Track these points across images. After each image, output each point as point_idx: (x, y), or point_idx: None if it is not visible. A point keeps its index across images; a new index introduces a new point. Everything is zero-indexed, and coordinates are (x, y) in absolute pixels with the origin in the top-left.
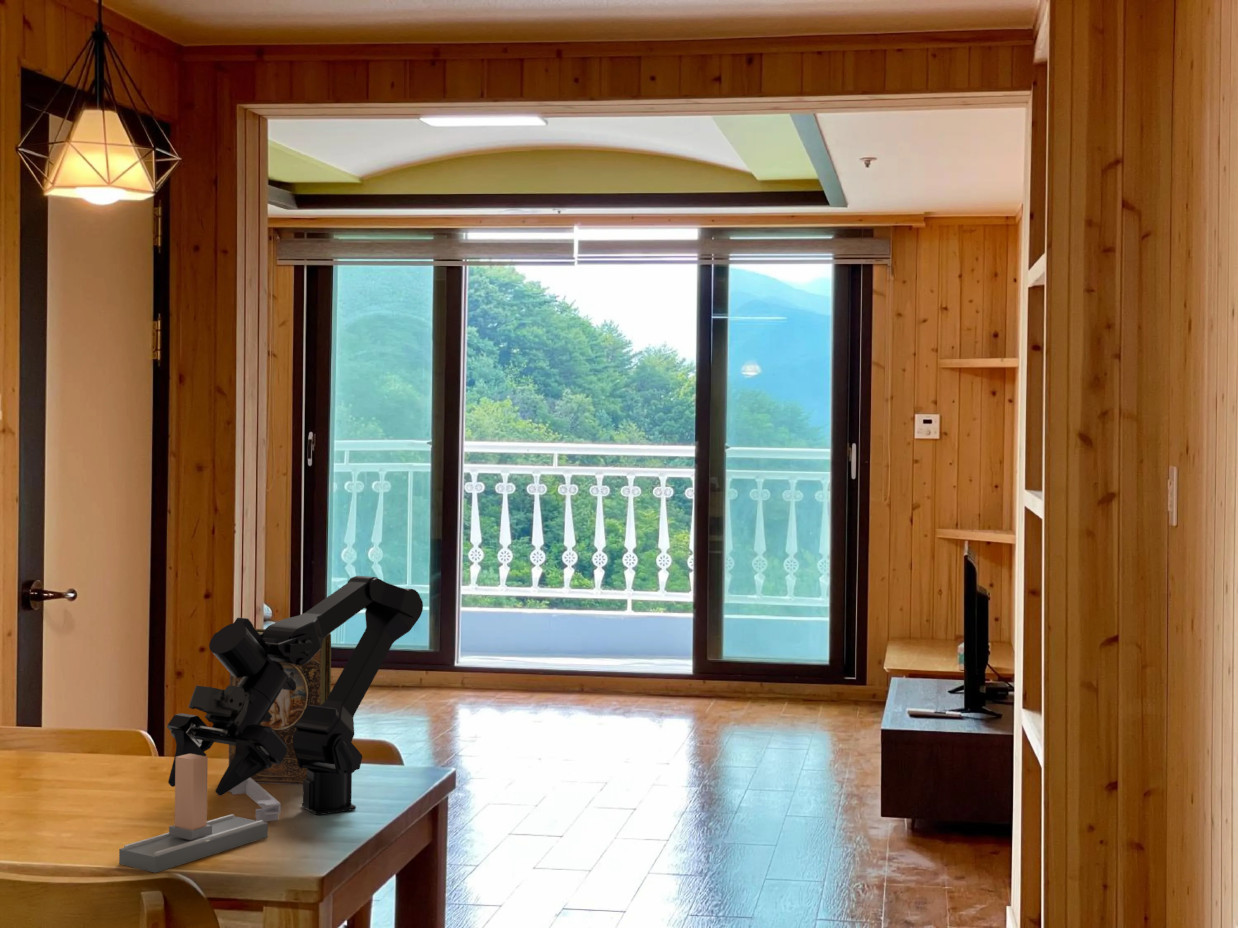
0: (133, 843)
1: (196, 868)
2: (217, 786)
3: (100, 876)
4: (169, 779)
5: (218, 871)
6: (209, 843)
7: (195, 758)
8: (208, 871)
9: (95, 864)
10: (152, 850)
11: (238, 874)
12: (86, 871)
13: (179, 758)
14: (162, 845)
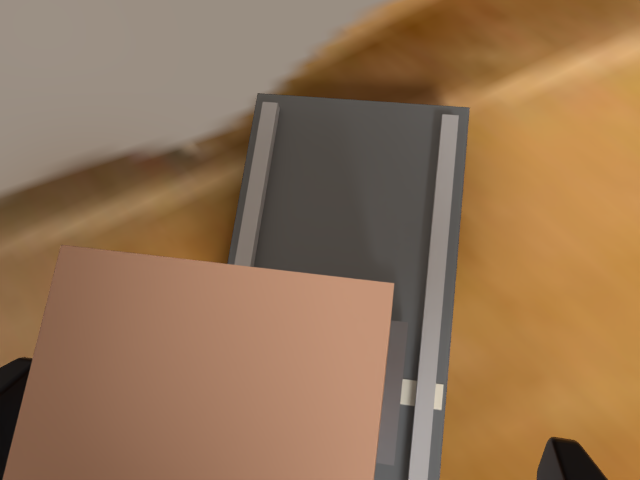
0: (445, 152)
1: (173, 219)
2: (12, 378)
3: (408, 13)
4: (579, 455)
5: (84, 227)
6: None
7: (91, 330)
8: (115, 211)
9: (535, 93)
10: (332, 151)
11: (5, 231)
12: (495, 26)
13: (318, 277)
14: (346, 223)
